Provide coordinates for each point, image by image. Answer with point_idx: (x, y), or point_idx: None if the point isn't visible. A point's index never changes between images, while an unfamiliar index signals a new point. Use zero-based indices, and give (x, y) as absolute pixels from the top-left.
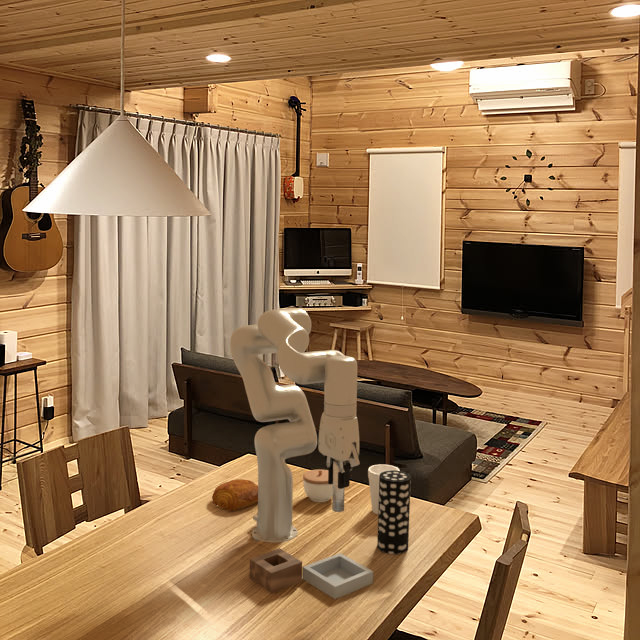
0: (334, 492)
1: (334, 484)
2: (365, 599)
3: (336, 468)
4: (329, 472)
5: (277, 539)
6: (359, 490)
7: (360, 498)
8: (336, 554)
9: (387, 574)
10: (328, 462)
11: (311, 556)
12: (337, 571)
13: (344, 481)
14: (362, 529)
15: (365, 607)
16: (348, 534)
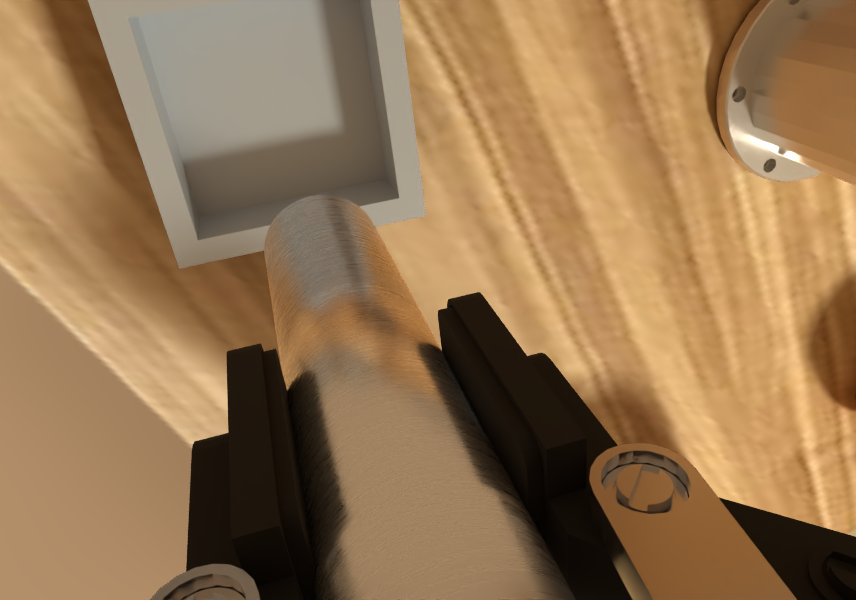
0: (334, 284)
1: (357, 339)
2: (83, 148)
3: (377, 558)
4: (518, 396)
5: (761, 47)
6: (829, 513)
7: (788, 495)
8: (421, 192)
9: (259, 341)
10: (670, 524)
11: (562, 127)
12: (356, 150)
13: (194, 482)
14: (616, 412)
15: (4, 107)
16: (618, 352)
